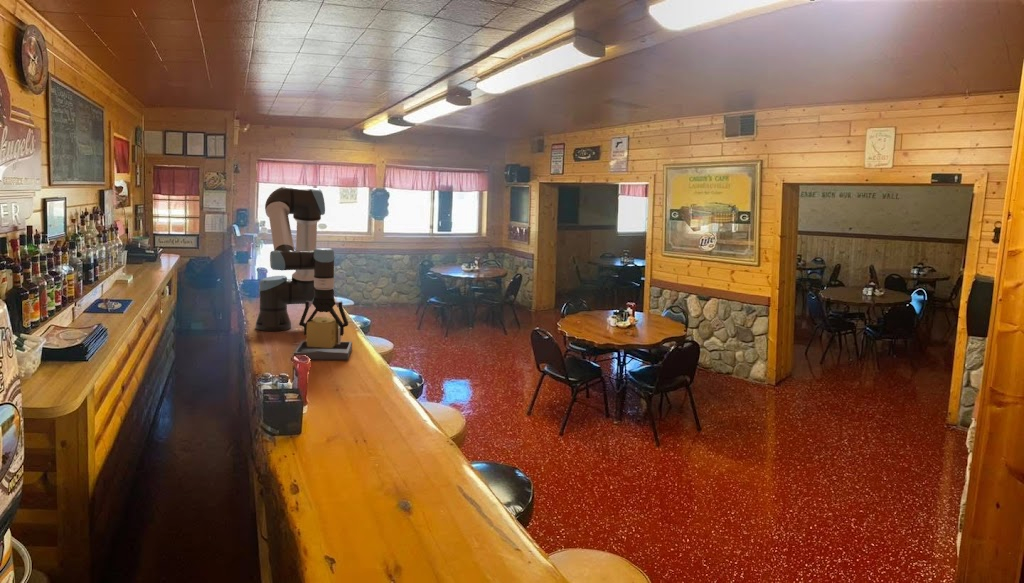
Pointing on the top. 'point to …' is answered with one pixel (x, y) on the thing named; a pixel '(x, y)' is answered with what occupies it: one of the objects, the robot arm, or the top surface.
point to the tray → (325, 352)
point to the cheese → (322, 332)
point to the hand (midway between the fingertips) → (324, 343)
